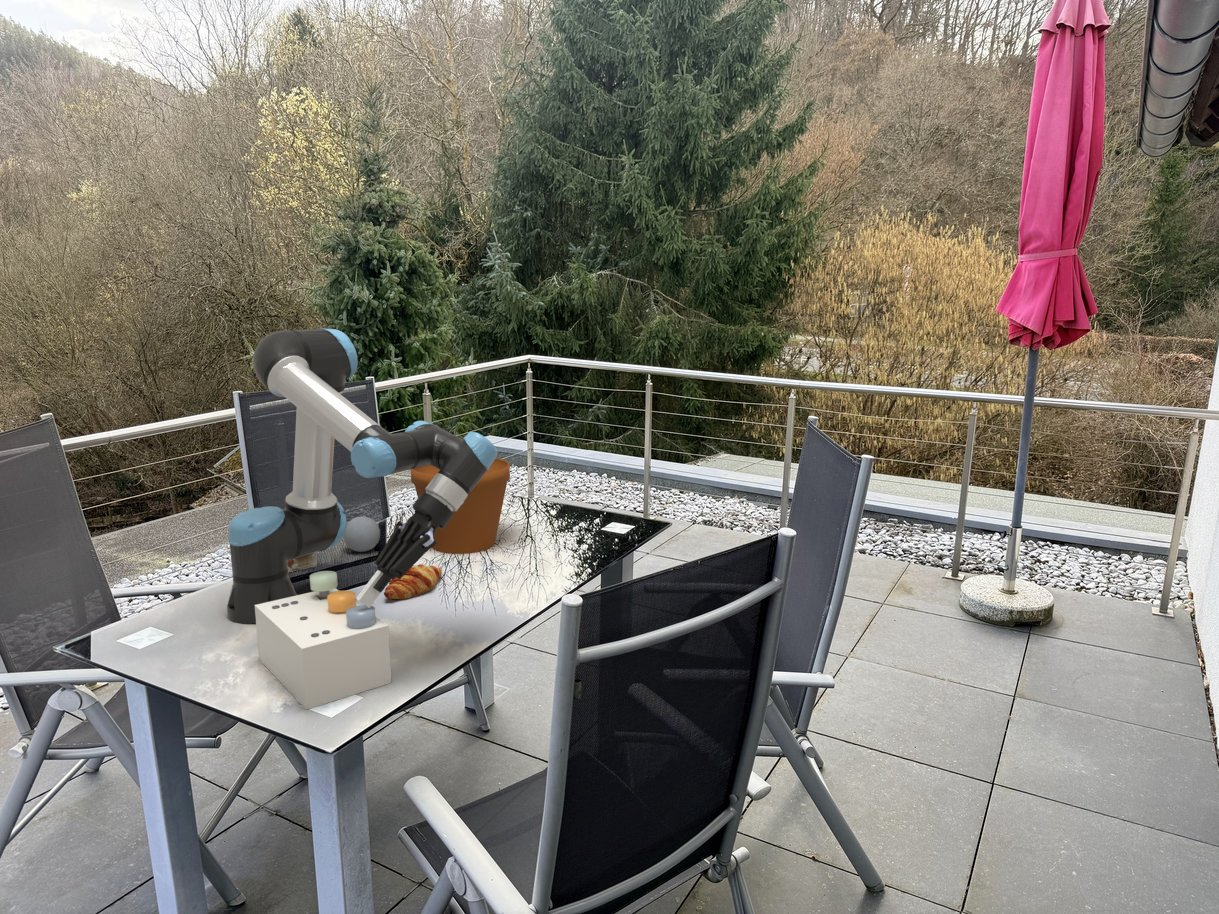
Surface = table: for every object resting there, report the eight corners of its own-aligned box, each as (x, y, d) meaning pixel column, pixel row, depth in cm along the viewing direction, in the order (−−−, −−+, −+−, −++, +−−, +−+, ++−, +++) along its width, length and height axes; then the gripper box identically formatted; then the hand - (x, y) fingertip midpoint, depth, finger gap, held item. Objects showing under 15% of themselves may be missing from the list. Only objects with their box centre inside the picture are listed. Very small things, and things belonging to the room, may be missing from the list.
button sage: (332, 594, 169) (330, 569, 168) (342, 601, 165) (340, 575, 164) (307, 600, 166) (305, 574, 165) (317, 607, 162) (315, 581, 161)
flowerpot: (495, 562, 223) (493, 478, 218) (398, 556, 227) (394, 474, 222) (522, 532, 250) (520, 457, 245) (434, 528, 254) (432, 454, 249)
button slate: (369, 630, 156) (368, 603, 155) (381, 638, 152) (379, 611, 151) (343, 637, 153) (341, 609, 152) (354, 646, 149) (352, 618, 148)
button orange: (350, 614, 163) (348, 588, 162) (361, 622, 159) (359, 595, 158) (324, 621, 160) (323, 594, 159) (335, 629, 156) (333, 602, 155)
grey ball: (387, 547, 235) (385, 513, 233) (369, 558, 225) (367, 523, 223) (356, 544, 237) (354, 511, 235) (337, 554, 228) (335, 520, 226)
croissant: (432, 587, 213) (419, 560, 213) (460, 575, 209) (447, 547, 209) (378, 614, 194) (364, 584, 194) (408, 601, 189) (394, 570, 190)
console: (337, 638, 173) (333, 586, 171) (391, 682, 154) (388, 624, 151) (259, 659, 163) (254, 604, 161) (306, 709, 143) (301, 647, 141)
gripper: (468, 519, 156) (391, 623, 149) (436, 506, 166) (362, 603, 159) (442, 497, 152) (362, 602, 145) (410, 485, 162) (334, 583, 154)
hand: (362, 603), depth 152 cm, fingers closed
